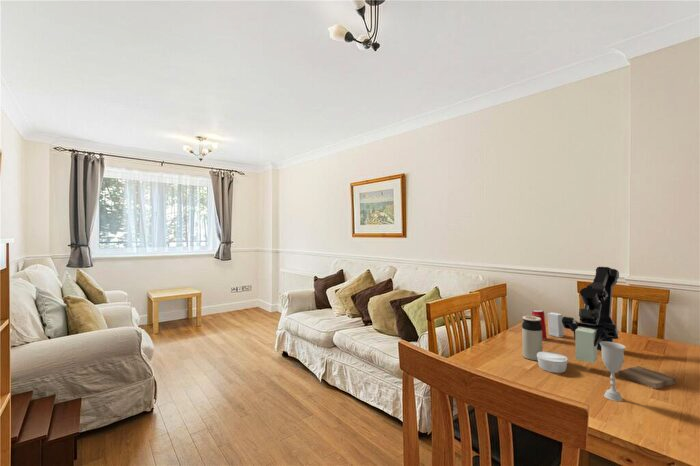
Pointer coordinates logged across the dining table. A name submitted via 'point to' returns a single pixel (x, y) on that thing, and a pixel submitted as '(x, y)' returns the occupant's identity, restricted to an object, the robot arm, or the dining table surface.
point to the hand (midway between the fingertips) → (585, 343)
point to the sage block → (585, 344)
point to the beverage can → (541, 315)
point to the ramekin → (552, 362)
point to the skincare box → (555, 324)
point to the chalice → (612, 365)
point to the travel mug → (531, 337)
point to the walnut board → (647, 377)
